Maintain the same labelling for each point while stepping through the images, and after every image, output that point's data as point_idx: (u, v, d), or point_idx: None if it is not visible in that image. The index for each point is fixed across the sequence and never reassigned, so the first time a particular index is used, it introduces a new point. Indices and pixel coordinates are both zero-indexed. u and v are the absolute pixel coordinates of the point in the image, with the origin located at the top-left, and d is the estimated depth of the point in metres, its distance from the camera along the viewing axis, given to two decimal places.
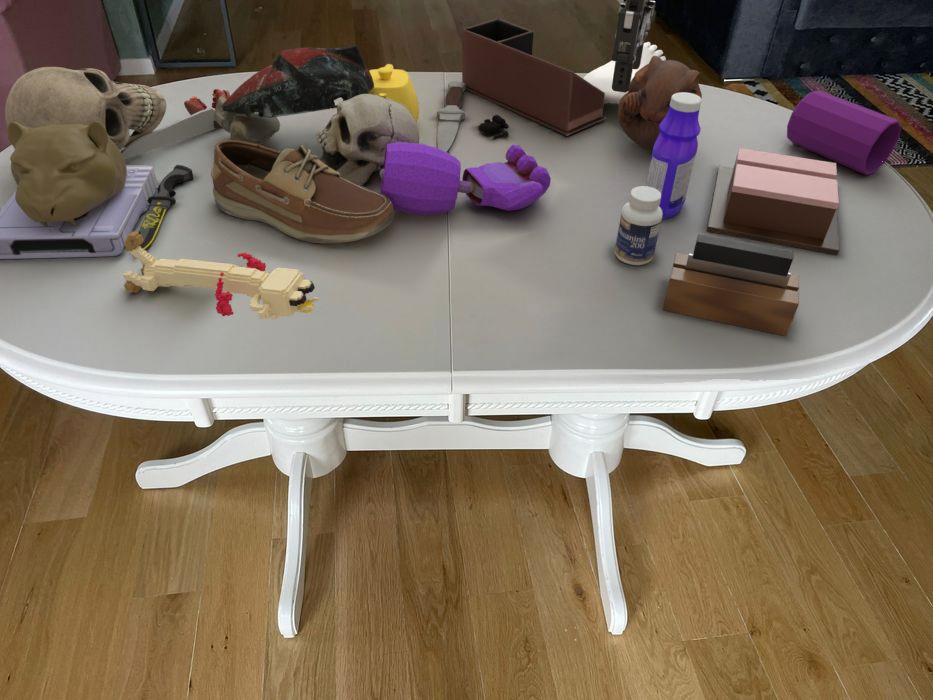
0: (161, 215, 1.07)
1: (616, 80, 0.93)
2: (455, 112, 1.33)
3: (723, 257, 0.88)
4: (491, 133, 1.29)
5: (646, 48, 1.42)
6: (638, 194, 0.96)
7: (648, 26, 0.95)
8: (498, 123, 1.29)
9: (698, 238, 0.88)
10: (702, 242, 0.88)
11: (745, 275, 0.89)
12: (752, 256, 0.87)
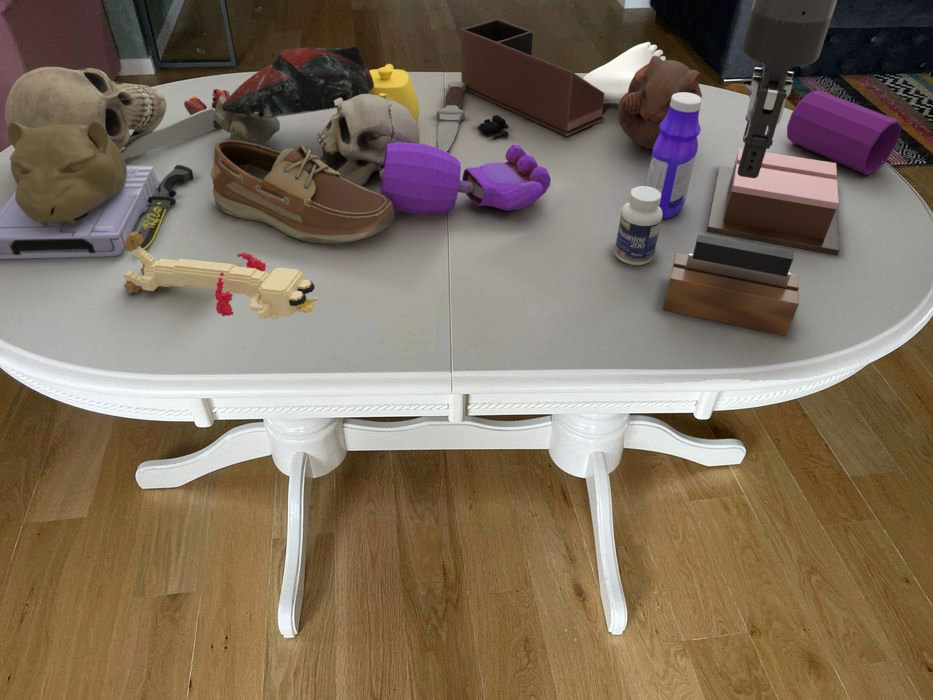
0: (161, 215, 1.07)
1: (745, 165, 0.78)
2: (455, 112, 1.33)
3: (723, 257, 0.88)
4: (491, 133, 1.29)
5: (646, 48, 1.42)
6: (638, 194, 0.96)
7: None
8: (498, 123, 1.29)
9: (698, 238, 0.88)
10: (702, 242, 0.88)
11: (745, 275, 0.89)
12: (752, 256, 0.87)
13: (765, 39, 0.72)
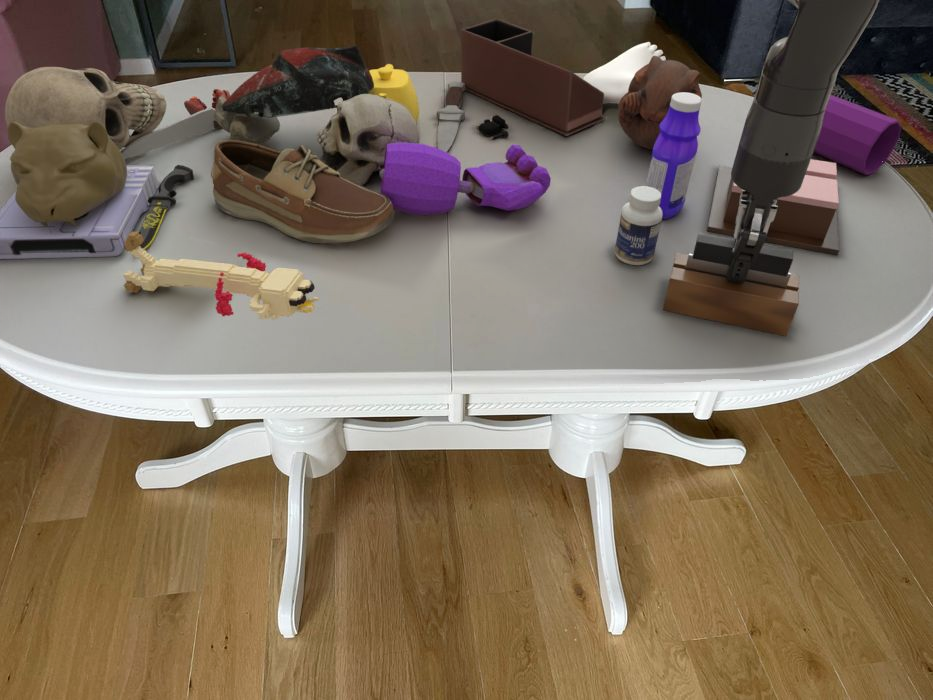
0: (161, 215, 1.07)
1: (733, 273, 0.87)
2: (455, 112, 1.33)
3: (723, 257, 0.88)
4: (491, 133, 1.29)
5: (646, 48, 1.42)
6: (638, 194, 0.96)
7: None
8: (498, 123, 1.29)
9: (698, 238, 0.88)
10: (702, 242, 0.88)
11: None
12: None
13: (752, 173, 0.78)
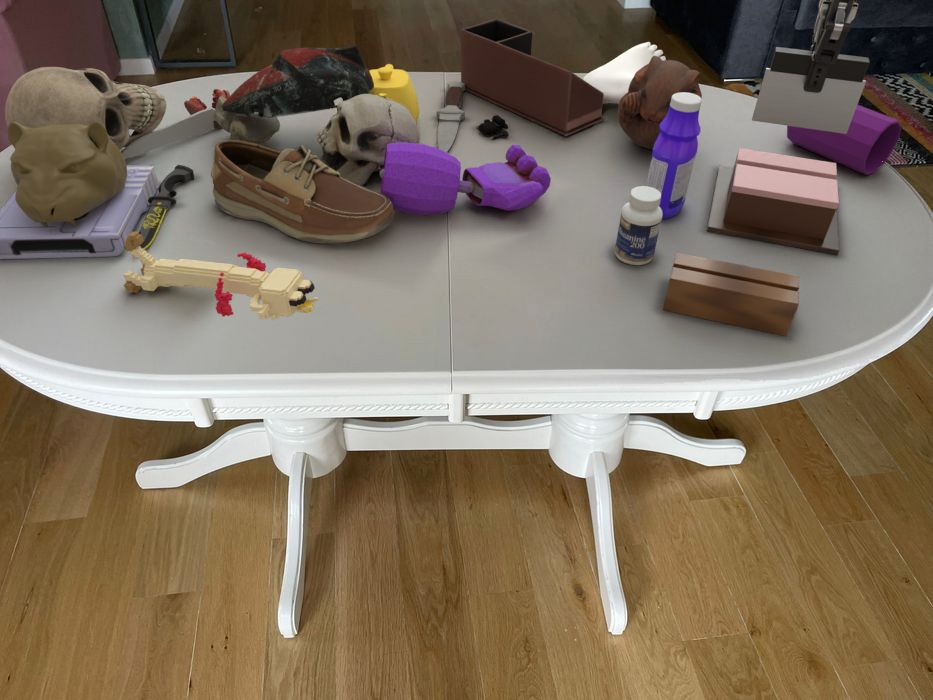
0: (161, 215, 1.07)
1: (811, 80, 0.92)
2: (455, 112, 1.33)
3: (801, 66, 0.92)
4: (491, 133, 1.29)
5: (646, 48, 1.42)
6: (638, 194, 0.96)
7: None
8: (498, 123, 1.29)
9: (776, 49, 0.93)
10: (781, 52, 0.92)
11: None
12: None
13: None
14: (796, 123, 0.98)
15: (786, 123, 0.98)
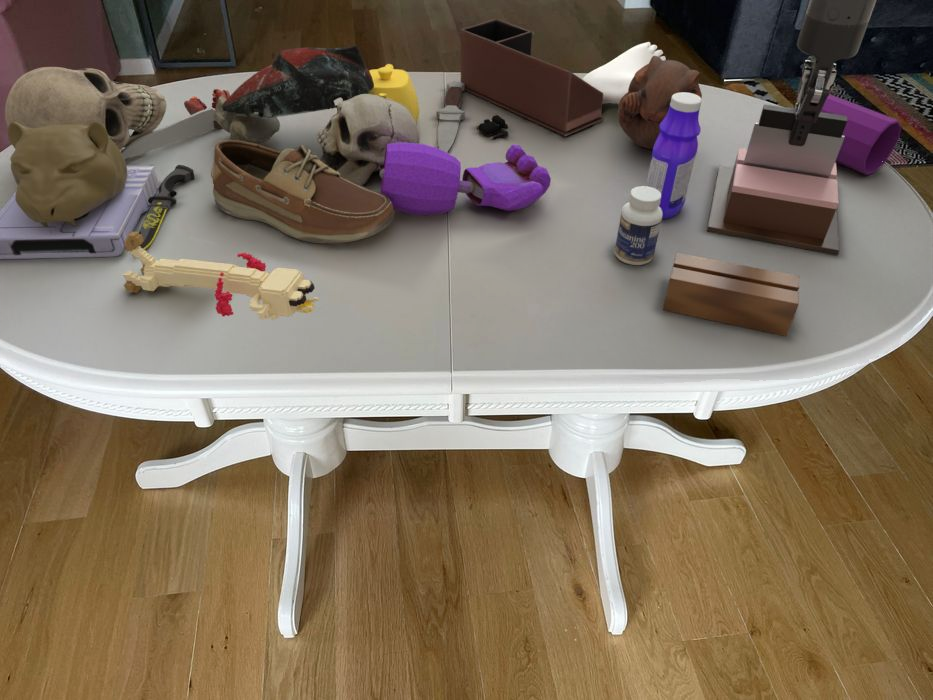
0: (161, 215, 1.07)
1: (795, 136, 1.02)
2: (455, 112, 1.33)
3: (786, 123, 1.02)
4: (491, 133, 1.29)
5: (646, 48, 1.42)
6: (638, 194, 0.96)
7: None
8: (498, 123, 1.29)
9: (764, 107, 1.03)
10: (768, 109, 1.02)
11: None
12: None
13: (817, 37, 0.93)
14: None
15: None
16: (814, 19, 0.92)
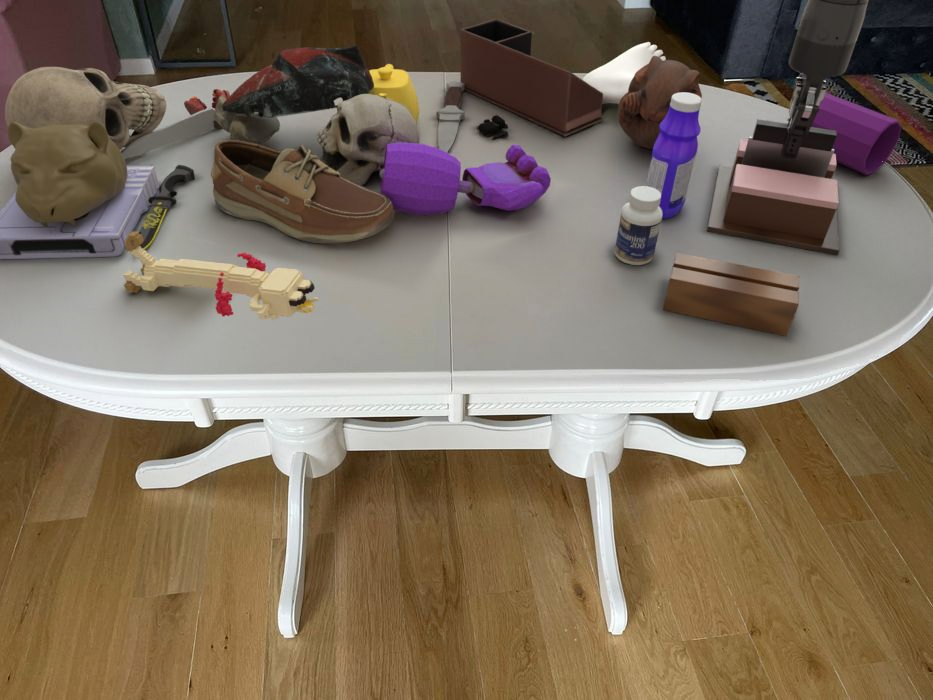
0: (161, 215, 1.07)
1: (787, 149, 1.07)
2: (455, 112, 1.33)
3: (778, 137, 1.08)
4: (491, 133, 1.29)
5: (646, 48, 1.42)
6: (638, 194, 0.96)
7: None
8: (498, 123, 1.29)
9: (758, 122, 1.08)
10: (761, 124, 1.07)
11: None
12: None
13: (807, 56, 0.98)
14: None
15: None
16: (804, 39, 0.97)
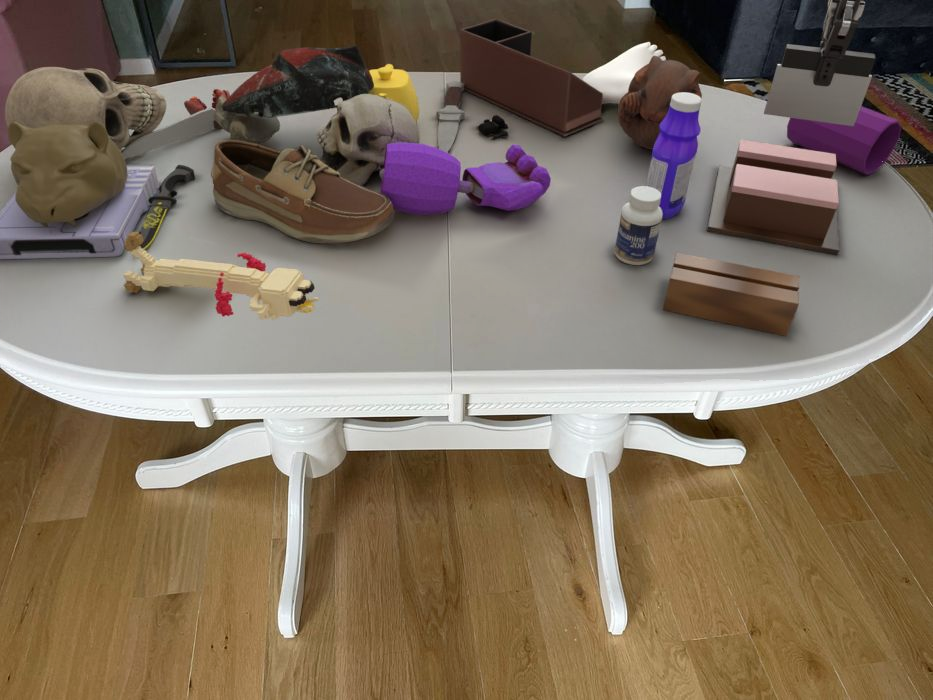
0: (161, 215, 1.07)
1: (820, 75, 0.97)
2: (455, 112, 1.33)
3: (810, 62, 0.98)
4: (490, 133, 1.29)
5: (646, 48, 1.42)
6: (638, 194, 0.96)
7: None
8: (497, 123, 1.29)
9: (787, 46, 0.98)
10: (791, 49, 0.98)
11: None
12: None
13: None
14: (806, 116, 1.03)
15: (796, 116, 1.04)
16: None
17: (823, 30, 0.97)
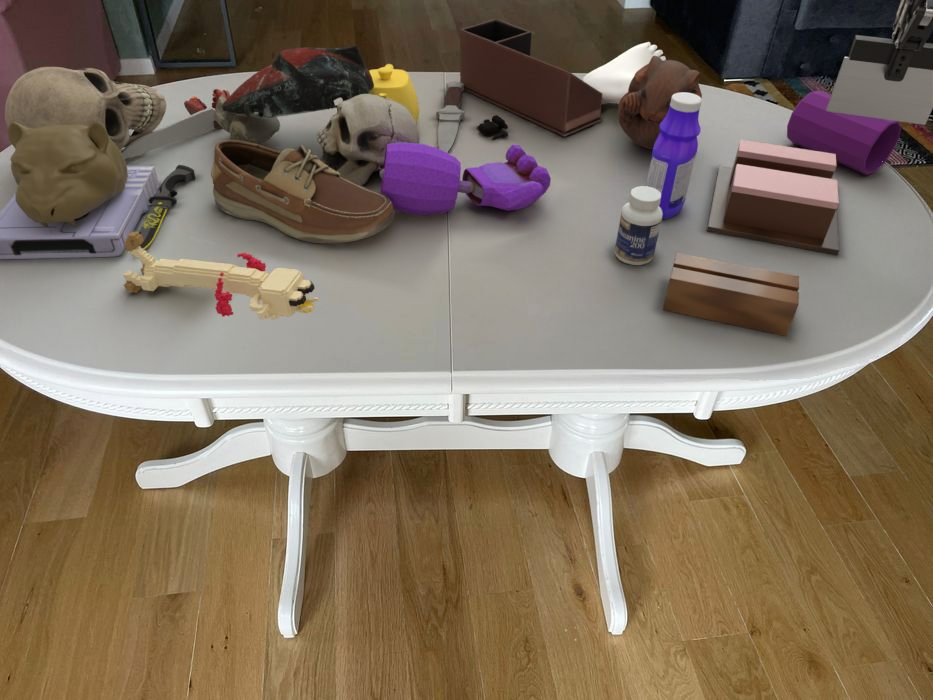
0: (161, 215, 1.07)
1: (893, 69, 0.90)
2: (455, 112, 1.33)
3: (882, 55, 0.90)
4: (490, 133, 1.29)
5: (646, 48, 1.42)
6: (638, 194, 0.96)
7: None
8: (497, 123, 1.29)
9: (857, 37, 0.91)
10: (862, 40, 0.90)
11: None
12: None
13: None
14: (873, 114, 0.95)
15: (862, 114, 0.96)
16: None
17: (897, 20, 0.89)
